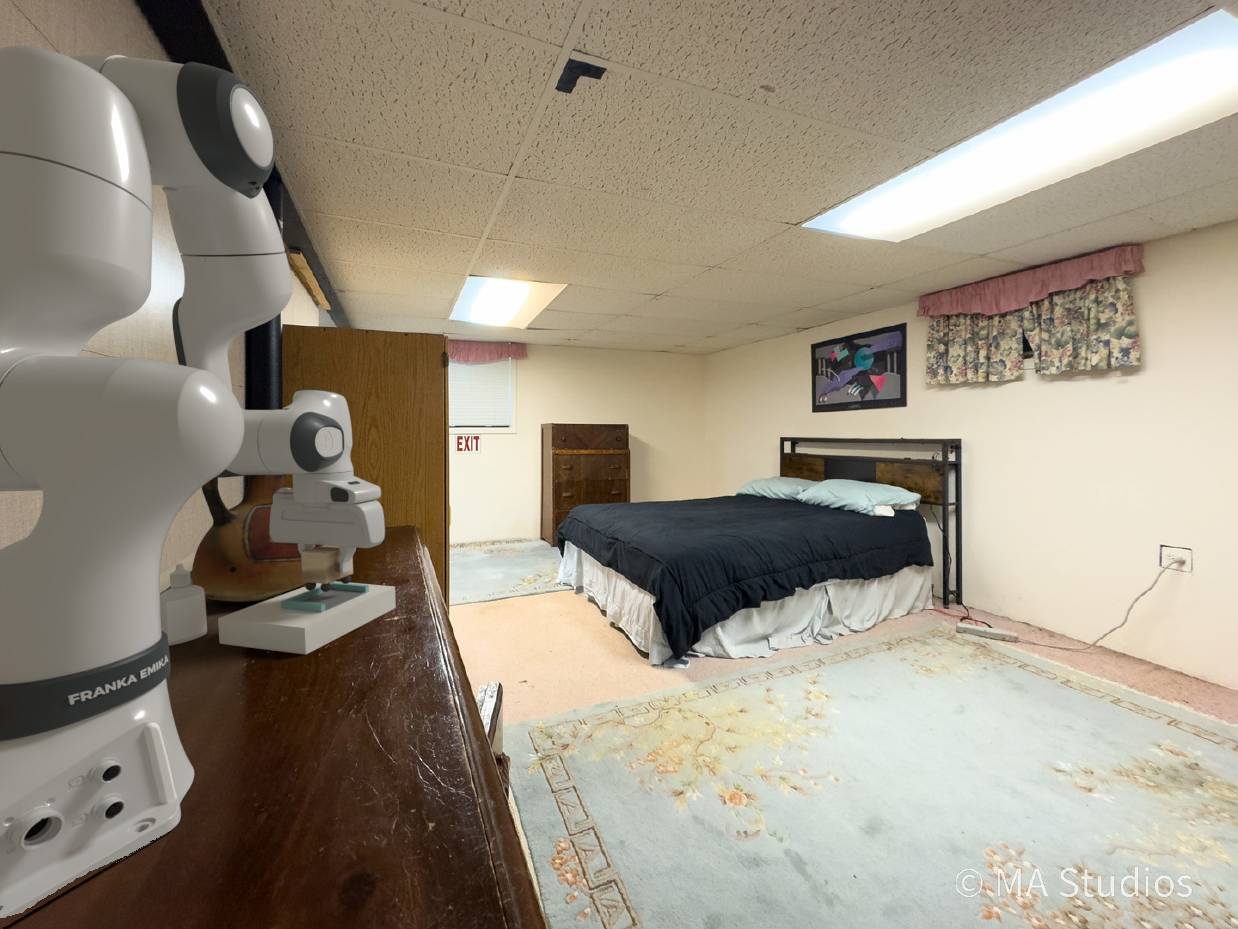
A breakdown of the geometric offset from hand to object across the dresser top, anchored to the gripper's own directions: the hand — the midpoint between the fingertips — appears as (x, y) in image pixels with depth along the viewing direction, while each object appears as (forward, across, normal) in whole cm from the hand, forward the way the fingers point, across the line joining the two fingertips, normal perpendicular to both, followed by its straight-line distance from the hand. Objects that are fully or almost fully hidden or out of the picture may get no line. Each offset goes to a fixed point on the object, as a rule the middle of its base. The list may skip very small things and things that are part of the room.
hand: (327, 570), depth 87 cm
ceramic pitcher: (+9, -25, +9) cm, 28 cm away
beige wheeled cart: (+3, 0, 0) cm, 3 cm away
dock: (+9, -2, -1) cm, 9 cm away
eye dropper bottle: (+9, -17, -11) cm, 22 cm away
